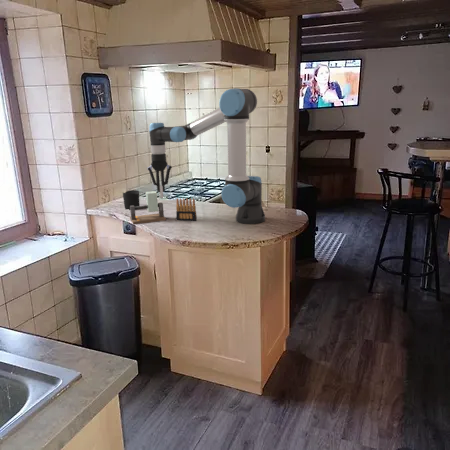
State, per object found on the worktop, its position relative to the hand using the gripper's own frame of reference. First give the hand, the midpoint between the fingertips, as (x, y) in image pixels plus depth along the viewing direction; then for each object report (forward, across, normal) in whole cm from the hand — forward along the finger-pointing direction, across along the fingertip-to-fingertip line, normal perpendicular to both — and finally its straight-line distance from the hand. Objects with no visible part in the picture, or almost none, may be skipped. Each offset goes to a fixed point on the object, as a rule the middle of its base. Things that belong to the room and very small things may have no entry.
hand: (161, 197), depth 230 cm
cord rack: (+11, +8, 0) cm, 14 cm away
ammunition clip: (+11, -10, +11) cm, 19 cm away
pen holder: (+12, +12, -31) cm, 35 cm away
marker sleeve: (+7, +5, 0) cm, 8 cm away
